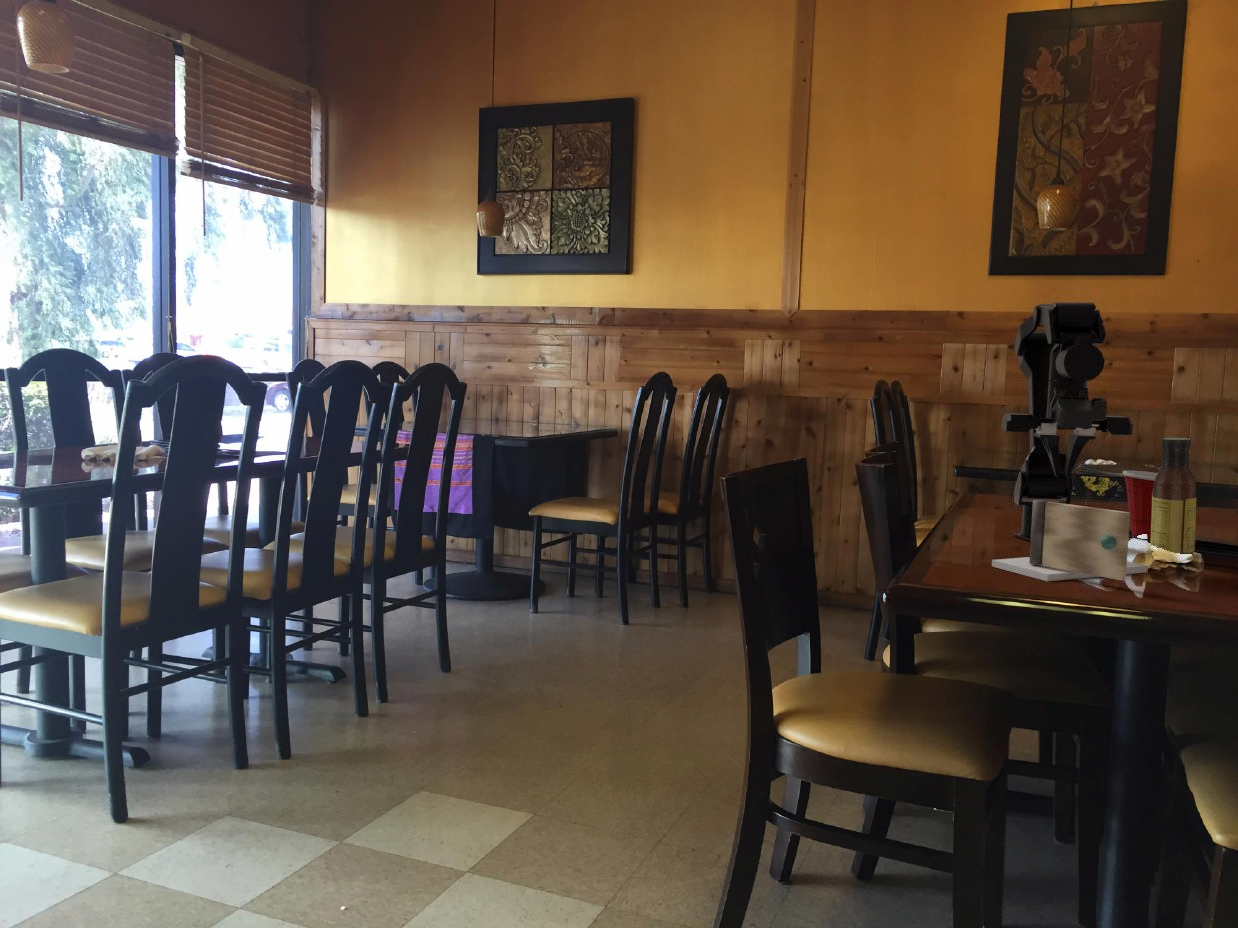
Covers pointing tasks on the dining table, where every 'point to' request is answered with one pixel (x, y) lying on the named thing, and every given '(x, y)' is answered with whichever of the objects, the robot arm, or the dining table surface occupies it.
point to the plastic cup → (1140, 500)
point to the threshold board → (1052, 569)
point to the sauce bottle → (1174, 499)
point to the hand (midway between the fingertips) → (1062, 477)
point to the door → (1080, 539)
